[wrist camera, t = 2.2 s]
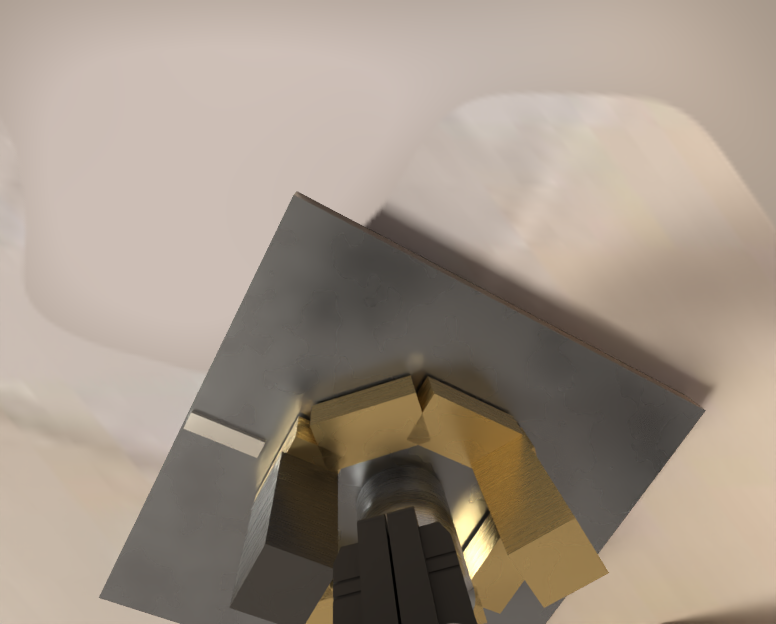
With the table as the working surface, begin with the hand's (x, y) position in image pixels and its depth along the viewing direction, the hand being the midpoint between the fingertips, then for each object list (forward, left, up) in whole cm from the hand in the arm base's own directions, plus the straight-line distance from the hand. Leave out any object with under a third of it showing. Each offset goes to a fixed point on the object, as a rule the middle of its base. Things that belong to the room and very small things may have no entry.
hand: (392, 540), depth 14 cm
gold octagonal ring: (-4, +4, -9) cm, 10 cm away
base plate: (-4, +4, -10) cm, 12 cm away
